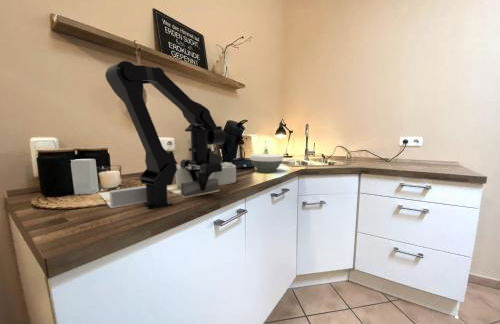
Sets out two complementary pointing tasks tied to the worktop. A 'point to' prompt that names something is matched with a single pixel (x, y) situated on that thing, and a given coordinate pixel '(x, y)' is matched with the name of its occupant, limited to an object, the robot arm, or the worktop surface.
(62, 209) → the worktop surface
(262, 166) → the bowl
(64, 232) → the worktop surface
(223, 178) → the lumpy-topped squat cylinder
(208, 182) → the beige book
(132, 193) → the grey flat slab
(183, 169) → the cup
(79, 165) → the skincare box
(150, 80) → the robot arm
